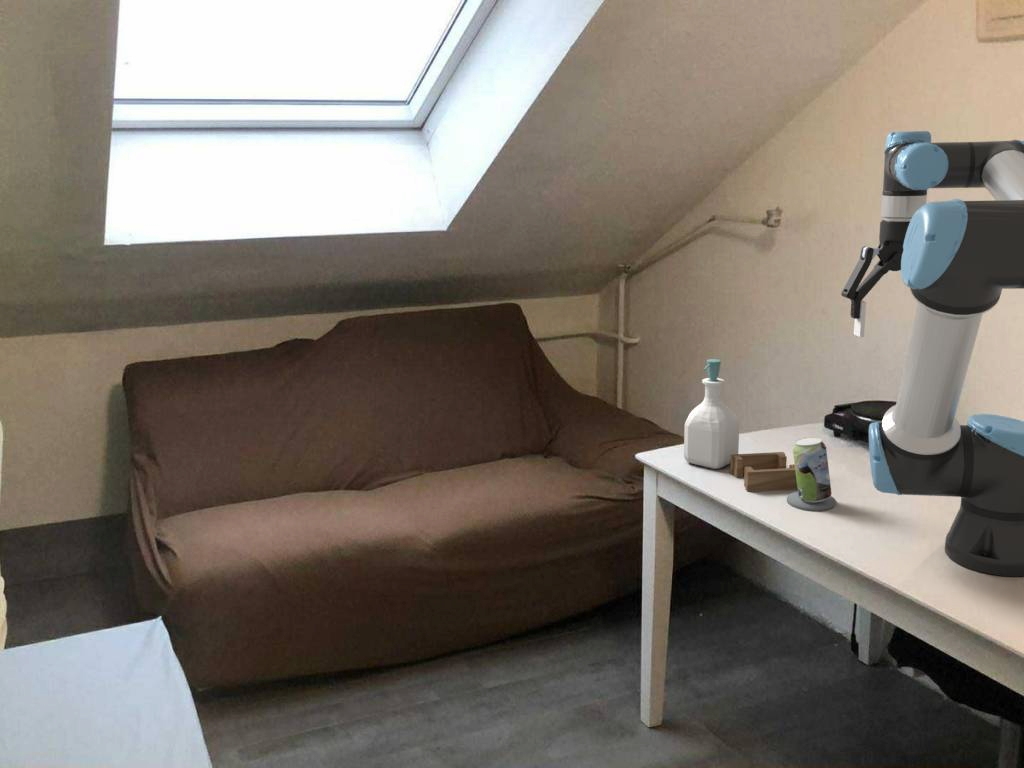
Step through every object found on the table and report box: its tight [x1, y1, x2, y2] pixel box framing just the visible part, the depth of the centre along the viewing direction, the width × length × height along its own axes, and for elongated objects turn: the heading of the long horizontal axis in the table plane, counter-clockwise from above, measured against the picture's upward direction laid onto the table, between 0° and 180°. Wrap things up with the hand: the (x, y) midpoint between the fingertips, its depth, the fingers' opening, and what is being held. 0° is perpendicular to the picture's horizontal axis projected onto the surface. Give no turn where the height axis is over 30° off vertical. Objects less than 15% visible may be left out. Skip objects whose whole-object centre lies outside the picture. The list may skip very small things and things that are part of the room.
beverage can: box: [792, 437, 832, 503], centre depth 182 cm, size 6×7×12 cm
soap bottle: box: [683, 358, 740, 470], centre depth 205 cm, size 10×10×23 cm
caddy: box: [729, 451, 798, 492], centre depth 195 cm, size 11×11×4 cm
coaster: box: [786, 491, 837, 512], centre depth 184 cm, size 9×9×1 cm
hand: (894, 334), depth 179 cm, fingers open, 13 cm apart
